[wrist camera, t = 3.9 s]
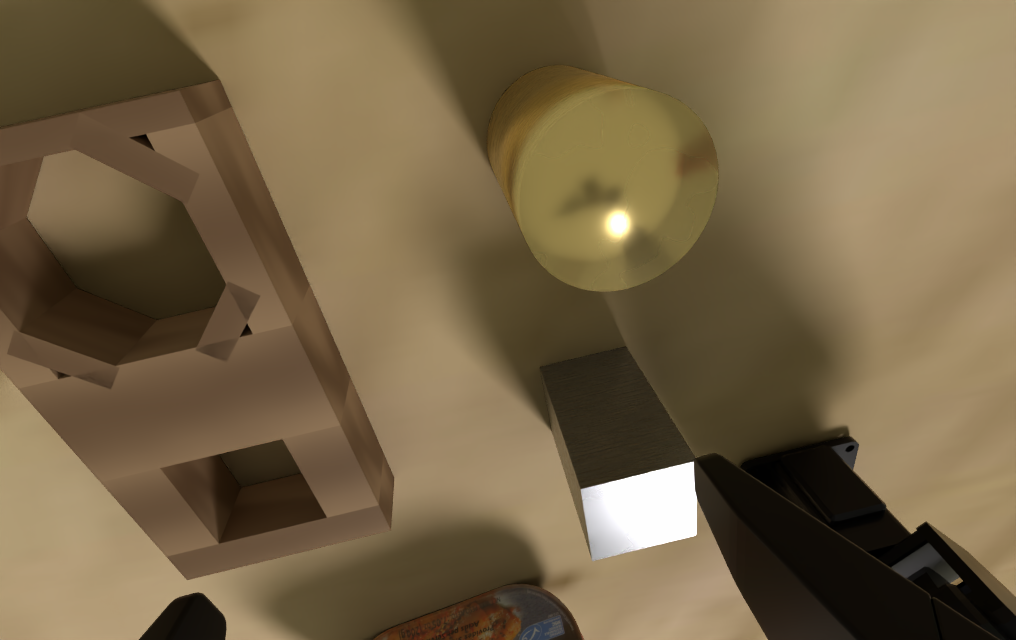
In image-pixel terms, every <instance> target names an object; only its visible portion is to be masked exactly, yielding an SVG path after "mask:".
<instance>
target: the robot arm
mask: <svg viewBox="0 0 1016 640" xmlns="http://www.w3.org/2000/svg"><path fill="white" fill-rule="evenodd" d="M858 447H859V444H858V443H857V442H856V441H855V440H854V439H853V438H852V437H844V438H840V439H836V440H831V441H827V442H823V443H819V444H815V445H811V446H807V447H803V448H799V449H795V450H791V451H787V452H782V453H778V454H774V455H770V456H766V457H762V458H758V459H754V460H750V461H747V462H745V463H744V464H743V465H742V466H741V468H739V467H738V466H736V465H735V464H733V463H732V462H730V461H729V460H727V459H726V458H724V457H723V456H721V455H719V454H716V453H712V454H708V455H704V456H701V457H697V458H695V460H694V464H693V466H694V487H695V493H696V497H697V499H698V502H699V504H700V506H701V509H702V511H703V513H704V515H705V517H706V520H707V522H708V524H709V526H710V528H711V531H712V533H713V535H714V537H715V539H716V542H717V544H718V546H719V548H720V550H721V553H722V555H723V557H724V559H725V561H726V564H727V566H728V568H729V570H730V572H731V574H732V577H733V579H734V581H735V583H736V585H737V587H738V588H739V590H740V592H741V594H742V596H743V598H744V599H745V601H746V603H747V604H748V606H749V608H750V610H751V611H752V613H753V615H754V616H755V618H756V620H757V622H758V623H759V625H760V627H761V628H762V630H763V632H764V633H765V635H766V637H767V639H768V640H1016V597H1015V596H1014V595H1013V594H1012V593H1011V592H1010V591H1009V590H1008V589H1007V588H1006V587H1005V586H1004V585H1003V584H1002V583H1000V582H999V581H998V580H997V579H996V578H995V577H994V576H993V575H992V574H991V573H990V572H989V571H988V570H987V569H986V568H985V567H983V566H982V565H981V564H980V563H979V562H978V561H977V560H976V559H975V558H974V557H973V556H972V555H971V554H970V553H968V552H967V551H966V550H965V549H963V548H962V547H961V546H959V545H958V544H957V543H955V542H954V541H952V540H951V539H950V538H948V537H947V536H946V535H944V534H943V533H941V532H940V531H939V530H937V529H936V528H935V527H933V526H932V525H931V524H929V523H928V522H924V523H923V524H921V525H920V526H918V527H917V528H916V529H917V531H915V532H914V533H912V534H911V533H910V532H909V531H908V530H907V529H906V528H905V527H904V526H903V525H902V524H901V523H900V522H899V521H898V520H897V519H896V518H895V517H894V516H893V515H892V513H891V512H890V511H889V510H888V509H887V508H886V504H885V503H884V502H883V501H882V500H881V499H880V498H879V497H878V496H877V495H876V494H875V492H874V491H873V490H872V489H871V488H870V487H869V486H868V485H867V484H866V483H865V482H864V481H863V480H862V479H861V478H860V477H859V476H858V475H857V474H856V473H855V472H854V471H853V468H854V464H855V460H856V455H857V451H858ZM959 577H960V578H961V579H962V580H963V582H961V583H960V584H958V585H957V586H956V585H953V584H950V583H951V582H953V581H954V580H956V579H958V578H959ZM225 637H226V620H225V617H224V615H223V614H222V613H221V612H220V611H219V610H218V609H217V608H216V606H215V605H214V604H213V603H212V602H211V601H210V600H209V599H208V598H207V597H206V596H205V595H204V594H202V593H199V592H198V593H193V594H189V595H185V596H182V597H179V598H177V599H175V600H173V601H172V602H171V603H170V604H169V605H168V606H167V608H166V609H165V610H164V611H163V612H162V613H161V615H160V616H159V617H158V618H157V619H156V620H155V621H154V623H153V624H152V625H151V626H150V627H149V628H148V630H147V631H146V632H145V633H144V634H143V635H142V637H141V638H140V639H139V640H225Z"/></svg>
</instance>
